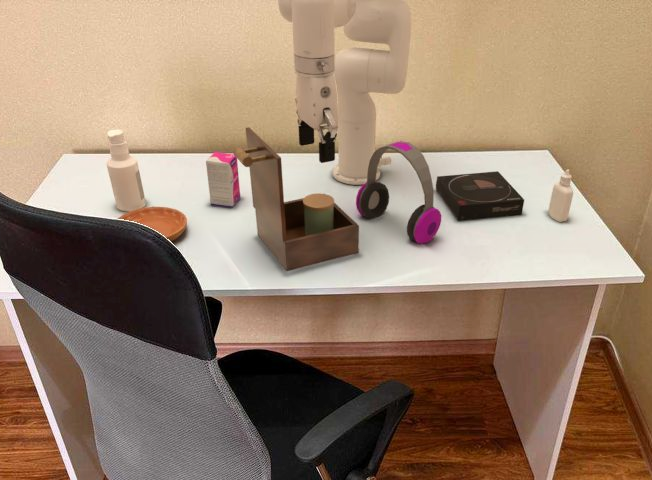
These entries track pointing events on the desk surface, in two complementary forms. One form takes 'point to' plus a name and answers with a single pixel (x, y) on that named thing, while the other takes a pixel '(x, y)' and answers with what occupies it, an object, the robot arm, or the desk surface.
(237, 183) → the supplement box
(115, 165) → the spray bottle
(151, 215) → the saucer
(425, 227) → the headphones
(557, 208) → the eye dropper bottle
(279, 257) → the chest
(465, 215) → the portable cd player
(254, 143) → the lid
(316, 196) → the canister
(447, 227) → the desk surface
